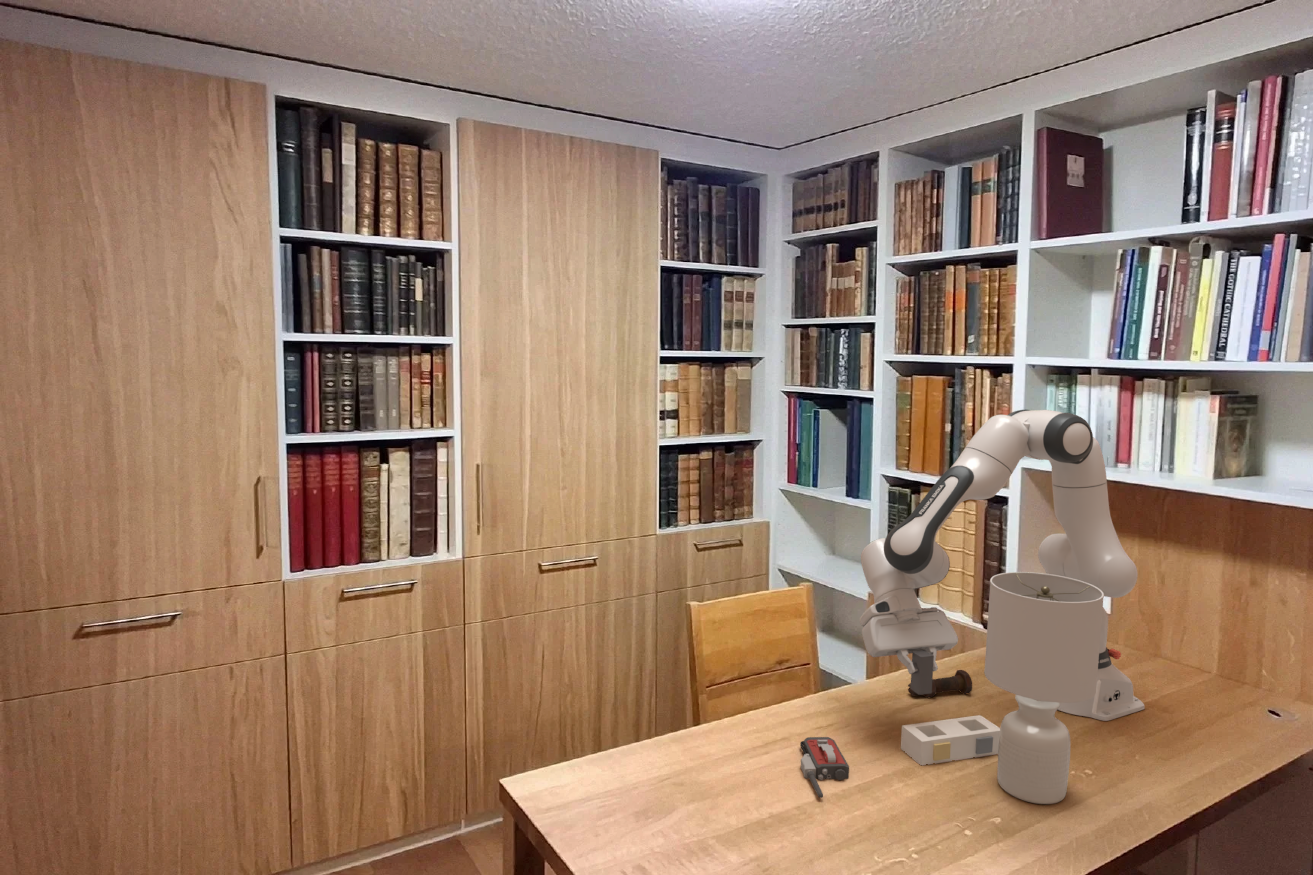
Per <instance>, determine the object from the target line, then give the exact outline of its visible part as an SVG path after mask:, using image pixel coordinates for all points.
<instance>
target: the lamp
mask: <svg viewBox="0 0 1313 875" xmlns="http://www.w3.org/2000/svg"><path fill="white" fill-rule="evenodd" d="M1104 597H1105V596H1104V593H1103V592H1102V591H1101V590H1100V589H1099V588H1097V587H1095V586H1093V585H1091V584H1089V583H1086V582H1083V581H1080V580H1076V579H1072V578H1068V577H1063V576H1058V575H1051V574H1046V573H1042V572H1031V571H1030V572H1028V571H1015V572H1014V571H1013V572H1003V573H998V574H995V575H993V576H992V577H991V578H990V580H989V597H988V598H989V599H988V612H987V613H988V614H987V627H986V628H987V629H986V630H987V631H986V640H985V641H986V643H985V659H984V672H983V673H984V676H985V678H986V679H987V681H989V682H990V683H991V684H993V685H994V686H996V687H997V688H999V689H1001V690H1004V691H1006V692H1009V693H1010V694H1014V695H1015V696H1014V698H1015V701H1016V702H1017V704H1018V709H1017V710H1013V711H1011V712H1009V713H1007V714H1006V715H1004V717H1003V718H1002V721H1001V724H1000V727H999V728H1000V735H999V746H998V754H997V779H996V780H997V782H998V784H999V786H1000V787H1001V789H1002V790H1004V791H1005V792H1006V793H1007V794H1009V795H1010V796H1013V797H1014V798H1017V799H1018V800H1022V801H1024V802H1028V803H1032V804H1039V805H1052V804H1058V803H1059V802H1061V801H1062V800H1063V799H1065V797H1066V796H1067V791H1068V790H1067V788H1068V784H1069V783H1068V782H1069V771H1070V763H1071V735H1070V731H1069V728H1067V726H1066V724H1065V723H1064V722H1063V721H1061V720H1060V719H1058V718H1056V716H1055V714H1056V712H1057V711H1058V708H1059V706H1060V703H1074V702H1081V701H1085V700H1089V699H1090V698H1092V697H1093V696H1094V695H1095V694H1096V685H1097V673H1098V660H1099V648H1100V635H1101V623H1102V610H1103V608H1104Z"/></svg>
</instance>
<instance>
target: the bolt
mask: <svg viewBox="0 0 1313 875" xmlns="http://www.w3.org/2000/svg"><path fill="white" fill-rule="evenodd" d="M907 687H908V689H907V690H908V691H907V692H908V693H909V694H910V695H911V696H912V697H917V696H919V695H918V694H917V693H916V692H914V691H913V690H911V689H910V688H911V682H910V683H909V684H907ZM959 690H960V691H961V692H962V693H961V692H960V691H959ZM972 690H973V680H972V678H971V676H970V674H969V672H967V671H966V670H963V669H957V670H956V672H955V674H954V675H953V676H952V675H951V676H948V677H938V678H934V679H933V678H932V693H930V694H921V695H920V696H924V697H925V698H928V697H930V698H933V697H935V695H936V694H938V693H944V692H945V693H946V692H953V691H956V692H957V691H959V692H960V693H961V694H963V693H964V694H963V695H967V694H966V693H969V694H971V692H972Z"/></svg>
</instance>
